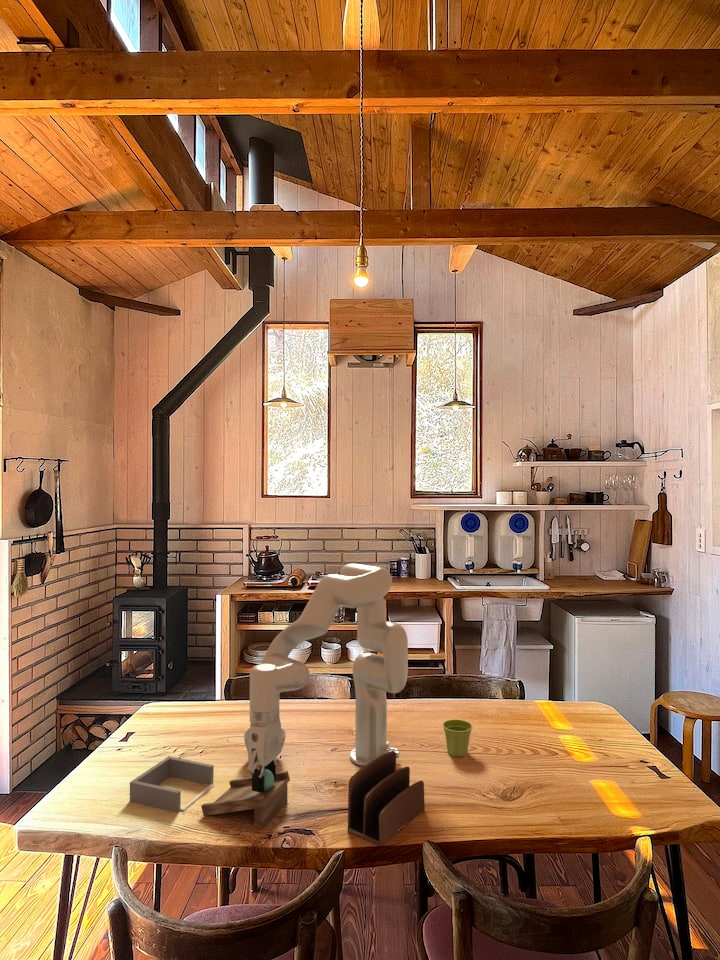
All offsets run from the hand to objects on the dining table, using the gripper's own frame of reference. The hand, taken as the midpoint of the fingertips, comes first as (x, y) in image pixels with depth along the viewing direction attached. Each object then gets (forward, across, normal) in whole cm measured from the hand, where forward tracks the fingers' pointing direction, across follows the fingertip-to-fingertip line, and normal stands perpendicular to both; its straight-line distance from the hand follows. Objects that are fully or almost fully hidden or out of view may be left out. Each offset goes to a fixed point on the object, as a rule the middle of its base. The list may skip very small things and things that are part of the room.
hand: (264, 784), depth 155 cm
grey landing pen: (+7, 0, +27) cm, 28 cm away
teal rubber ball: (+1, 0, 0) cm, 1 cm away
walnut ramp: (+7, 0, +5) cm, 8 cm away
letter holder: (+7, +8, -30) cm, 32 cm away
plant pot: (+7, +51, -40) cm, 65 cm away
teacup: (+7, +27, +14) cm, 31 cm away
